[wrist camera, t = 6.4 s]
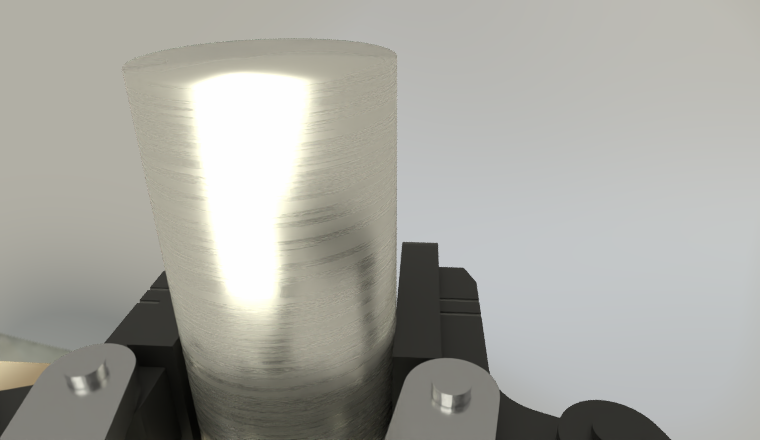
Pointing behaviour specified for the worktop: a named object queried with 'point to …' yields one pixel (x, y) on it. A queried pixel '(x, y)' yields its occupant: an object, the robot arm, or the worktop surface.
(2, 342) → the worktop surface
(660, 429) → the robot arm
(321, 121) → the crank handle
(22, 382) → the bearing block
